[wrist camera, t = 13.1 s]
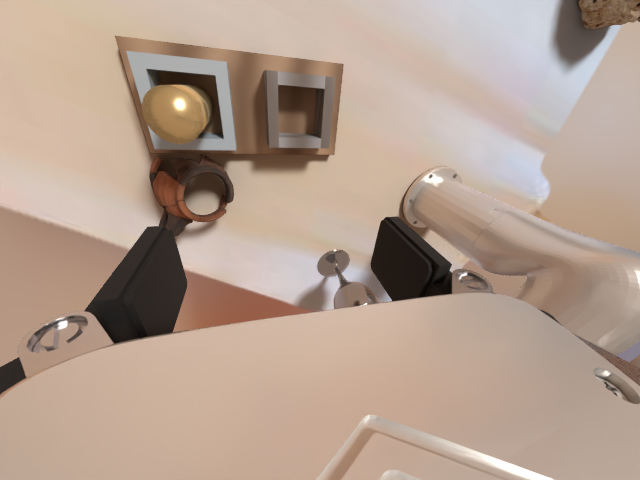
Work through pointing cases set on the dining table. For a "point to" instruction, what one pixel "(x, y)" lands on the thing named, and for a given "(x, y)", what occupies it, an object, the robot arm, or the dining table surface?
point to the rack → (150, 64)
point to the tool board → (257, 98)
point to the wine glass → (345, 281)
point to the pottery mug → (172, 190)
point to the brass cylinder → (177, 111)
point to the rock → (608, 12)
